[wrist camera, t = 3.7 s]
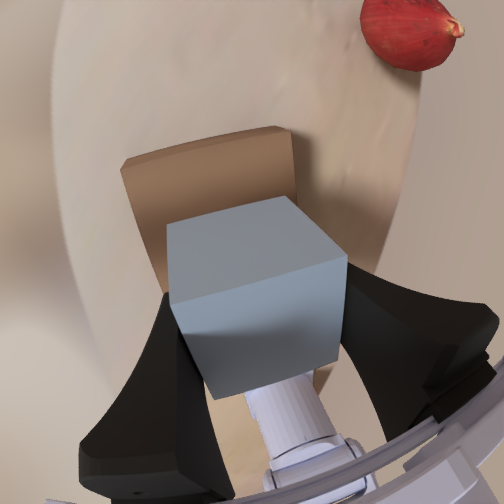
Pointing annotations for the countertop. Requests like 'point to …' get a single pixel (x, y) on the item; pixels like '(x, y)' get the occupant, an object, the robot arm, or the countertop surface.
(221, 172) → the base
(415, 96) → the countertop surface
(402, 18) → the onion
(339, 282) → the cube
